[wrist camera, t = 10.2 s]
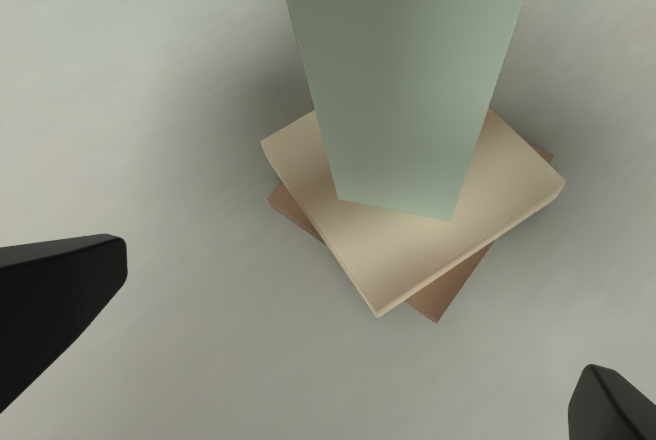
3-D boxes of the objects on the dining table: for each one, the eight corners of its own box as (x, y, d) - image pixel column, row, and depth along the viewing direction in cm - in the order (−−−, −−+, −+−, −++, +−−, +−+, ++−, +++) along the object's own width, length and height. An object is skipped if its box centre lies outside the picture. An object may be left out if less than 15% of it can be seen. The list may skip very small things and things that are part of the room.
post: (450, 221, 18) (556, -97, 6) (338, 199, 19) (256, -115, 7) (469, 123, 19) (583, -282, 8) (364, 106, 20) (329, -278, 9)
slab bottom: (542, 172, 22) (553, 155, 20) (434, 327, 19) (438, 319, 18) (384, 87, 25) (385, 67, 23) (274, 213, 22) (267, 198, 21)
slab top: (555, 199, 20) (567, 182, 18) (377, 318, 18) (376, 309, 17) (422, 67, 23) (425, 44, 22) (267, 159, 22) (259, 141, 21)
